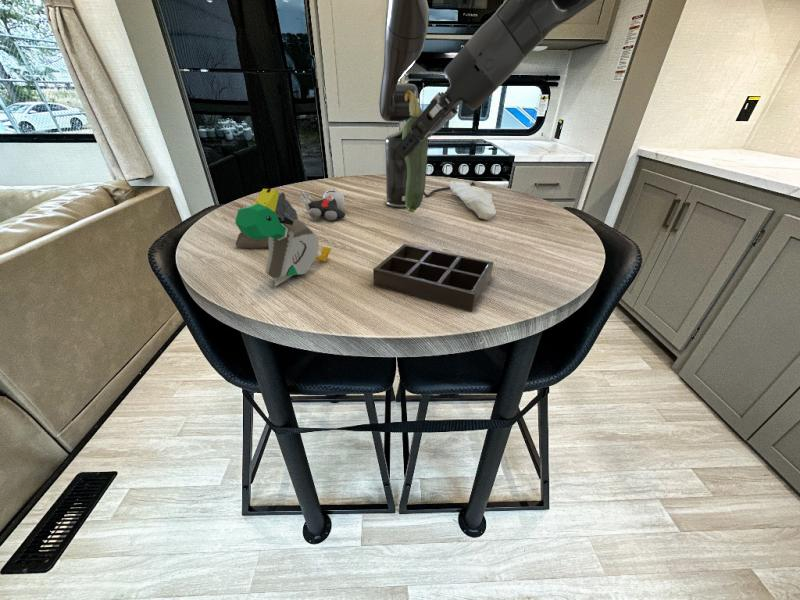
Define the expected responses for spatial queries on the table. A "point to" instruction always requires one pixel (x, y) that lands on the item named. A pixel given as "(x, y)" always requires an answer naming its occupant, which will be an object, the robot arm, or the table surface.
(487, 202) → the rock
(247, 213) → the toy
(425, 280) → the brown compartment tray
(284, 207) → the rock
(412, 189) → the vegetable
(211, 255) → the table surface
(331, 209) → the toy
